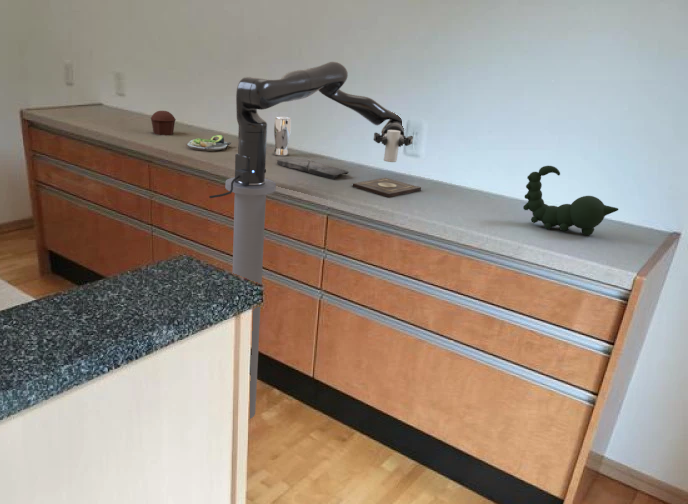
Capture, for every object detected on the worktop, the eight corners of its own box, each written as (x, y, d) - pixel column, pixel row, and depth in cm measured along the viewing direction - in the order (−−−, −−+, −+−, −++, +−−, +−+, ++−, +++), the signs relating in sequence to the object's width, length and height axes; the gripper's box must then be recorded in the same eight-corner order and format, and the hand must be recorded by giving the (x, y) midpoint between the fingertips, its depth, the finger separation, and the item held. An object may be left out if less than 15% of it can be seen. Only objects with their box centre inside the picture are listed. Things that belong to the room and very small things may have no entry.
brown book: (388, 197, 200) (388, 193, 199) (352, 186, 210) (352, 182, 210) (420, 190, 211) (421, 186, 211) (385, 180, 222) (385, 177, 221)
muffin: (146, 132, 282) (145, 109, 278) (166, 130, 289) (166, 108, 285) (159, 136, 274) (159, 113, 270) (180, 134, 281) (180, 112, 277)
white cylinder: (391, 162, 204) (395, 132, 200) (381, 160, 207) (384, 130, 203) (399, 161, 207) (403, 131, 202) (389, 158, 210) (392, 129, 205)
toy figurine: (518, 230, 180) (611, 242, 168) (526, 166, 173) (624, 173, 161) (524, 223, 188) (614, 234, 175) (532, 161, 181) (627, 168, 168)
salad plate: (226, 154, 247) (226, 142, 245) (182, 150, 248) (182, 139, 246) (232, 145, 265) (233, 134, 263) (192, 142, 265) (192, 131, 264)
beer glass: (291, 156, 252) (293, 119, 246) (275, 156, 250) (277, 118, 244) (285, 152, 258) (288, 116, 252) (270, 152, 256) (272, 116, 249)
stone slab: (334, 174, 216) (275, 155, 234) (332, 182, 218) (275, 163, 236) (352, 171, 223) (294, 153, 241) (350, 179, 225) (293, 161, 243)
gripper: (375, 122, 216) (372, 129, 201) (415, 125, 214) (415, 133, 199) (372, 143, 219) (369, 152, 204) (412, 147, 217) (412, 156, 202)
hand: (392, 142), depth 202 cm, fingers closed on white cylinder, 4 cm apart
